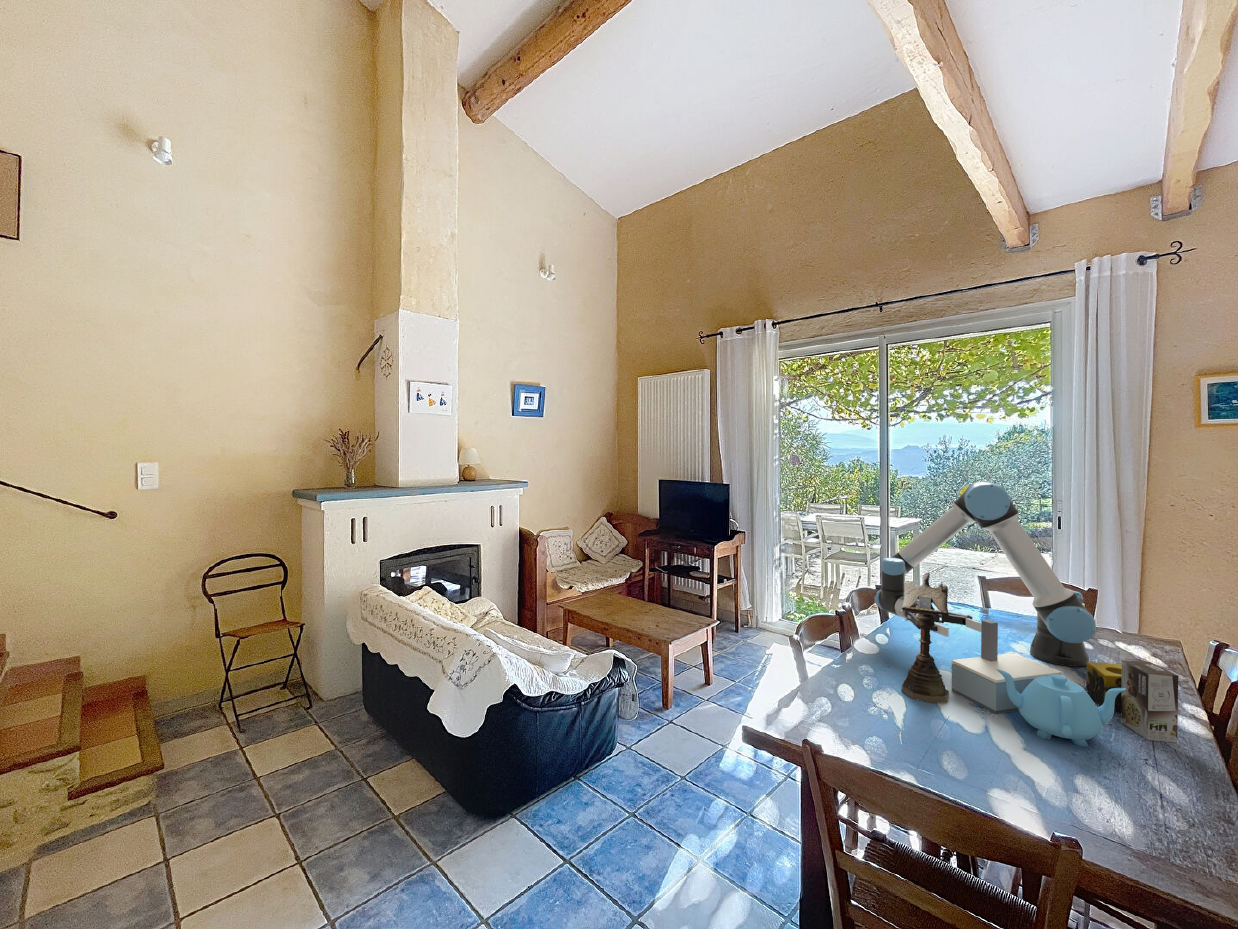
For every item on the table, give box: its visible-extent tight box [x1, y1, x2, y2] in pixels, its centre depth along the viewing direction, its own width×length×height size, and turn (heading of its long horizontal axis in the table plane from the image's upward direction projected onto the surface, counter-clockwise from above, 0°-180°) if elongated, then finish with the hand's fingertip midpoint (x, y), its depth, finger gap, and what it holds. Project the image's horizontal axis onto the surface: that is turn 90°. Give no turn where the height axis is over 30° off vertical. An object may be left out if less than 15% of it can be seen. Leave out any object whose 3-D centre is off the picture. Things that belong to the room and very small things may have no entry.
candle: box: [1085, 661, 1122, 714], centre depth 144 cm, size 10×10×10 cm
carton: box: [951, 662, 1035, 715], centre depth 149 cm, size 22×14×8 cm, turn 103°
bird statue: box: [900, 572, 956, 704], centre depth 149 cm, size 17×13×35 cm
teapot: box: [996, 669, 1126, 747], centre depth 130 cm, size 16×20×14 cm
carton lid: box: [951, 619, 1063, 683], centre depth 149 cm, size 22×14×12 cm, turn 103°
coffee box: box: [1120, 660, 1179, 744], centre depth 130 cm, size 9×6×16 cm
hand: (966, 630), depth 161 cm, fingers open, 13 cm apart
